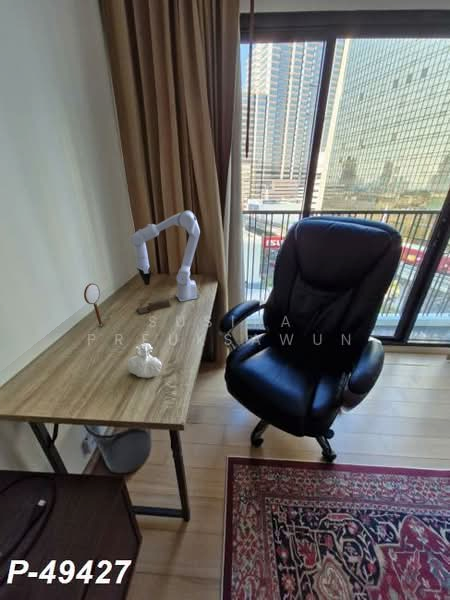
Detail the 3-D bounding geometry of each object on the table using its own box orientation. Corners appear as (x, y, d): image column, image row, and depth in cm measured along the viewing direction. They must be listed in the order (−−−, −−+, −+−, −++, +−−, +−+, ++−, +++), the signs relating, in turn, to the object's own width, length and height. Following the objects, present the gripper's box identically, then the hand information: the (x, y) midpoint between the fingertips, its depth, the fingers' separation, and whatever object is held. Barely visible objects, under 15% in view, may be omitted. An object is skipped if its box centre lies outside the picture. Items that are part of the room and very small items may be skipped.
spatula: (168, 303, 129) (167, 297, 127) (170, 307, 125) (170, 301, 123) (138, 309, 123) (137, 304, 122) (139, 314, 119) (138, 308, 118)
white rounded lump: (164, 377, 85) (168, 344, 87) (156, 380, 78) (160, 344, 80) (131, 374, 87) (136, 341, 89) (120, 376, 80) (125, 341, 82)
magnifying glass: (96, 331, 107) (84, 288, 97) (93, 331, 107) (80, 288, 98) (108, 320, 114) (98, 280, 105) (105, 320, 115) (94, 280, 105)
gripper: (131, 254, 128) (135, 278, 134) (135, 262, 116) (140, 288, 123) (145, 252, 131) (149, 276, 137) (150, 260, 119) (154, 286, 125)
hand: (145, 282), depth 130 cm, fingers open, 7 cm apart
